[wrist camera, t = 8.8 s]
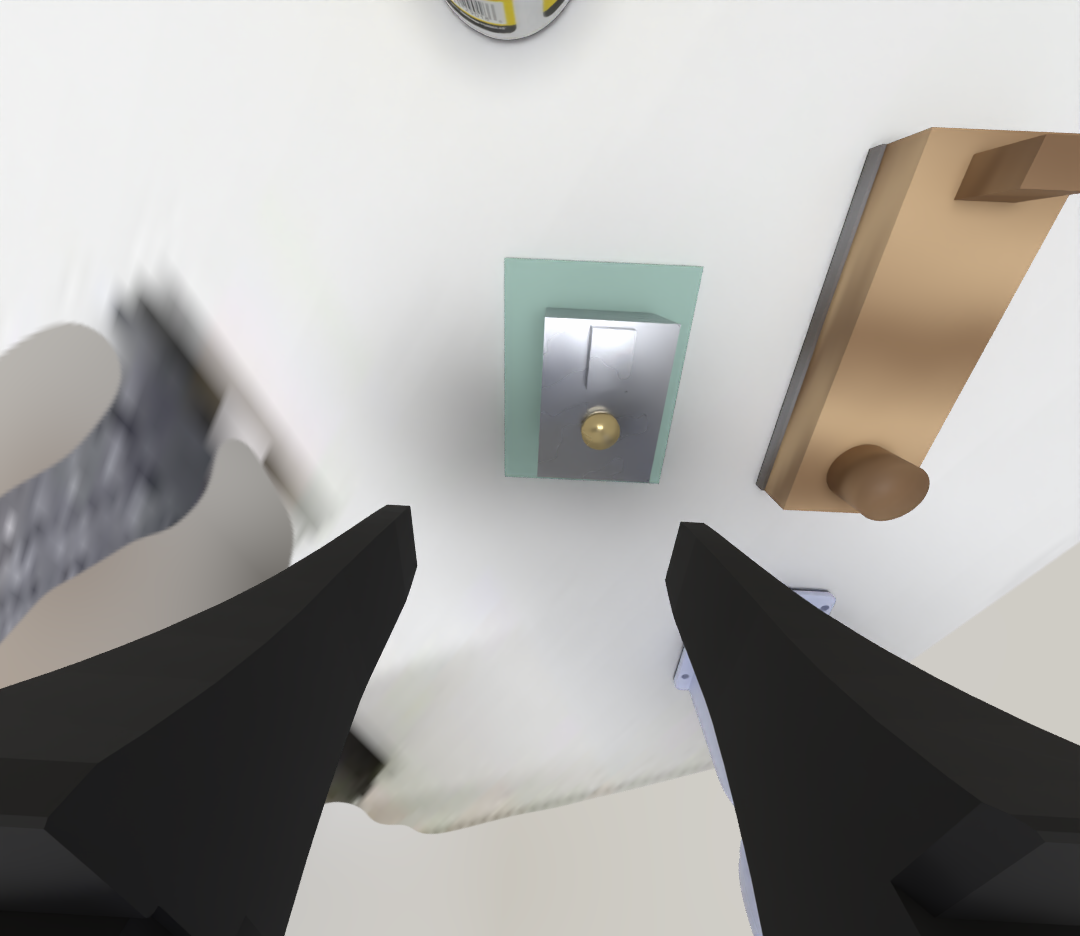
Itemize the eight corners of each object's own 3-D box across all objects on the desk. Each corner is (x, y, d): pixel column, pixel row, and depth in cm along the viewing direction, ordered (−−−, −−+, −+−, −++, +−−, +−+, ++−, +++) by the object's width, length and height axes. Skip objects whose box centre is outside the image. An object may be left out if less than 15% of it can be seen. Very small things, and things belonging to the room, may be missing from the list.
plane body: (860, 489, 20) (934, 541, 16) (756, 484, 20) (805, 535, 16) (1022, 155, 14) (1205, 110, 10) (869, 149, 14) (994, 101, 10)
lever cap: (630, 443, 19) (652, 490, 15) (539, 438, 19) (536, 484, 15) (652, 312, 16) (686, 326, 12) (546, 307, 16) (544, 319, 12)
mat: (656, 479, 20) (658, 483, 20) (505, 472, 20) (504, 476, 20) (700, 267, 16) (703, 266, 15) (505, 258, 16) (504, 257, 15)
